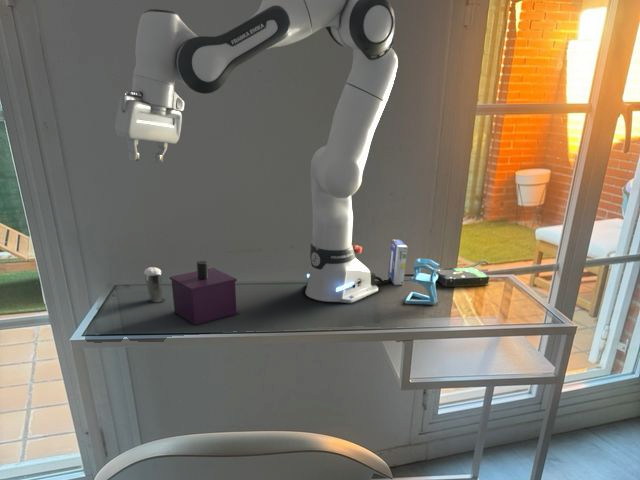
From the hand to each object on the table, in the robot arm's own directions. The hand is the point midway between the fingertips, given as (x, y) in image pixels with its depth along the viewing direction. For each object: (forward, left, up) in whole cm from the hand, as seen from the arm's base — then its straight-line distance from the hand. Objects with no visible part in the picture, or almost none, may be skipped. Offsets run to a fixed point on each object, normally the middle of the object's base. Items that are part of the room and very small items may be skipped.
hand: (145, 161), depth 136 cm
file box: (-9, +7, -37) cm, 39 cm away
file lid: (-9, +7, -28) cm, 30 cm away
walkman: (-71, +18, -37) cm, 82 cm away
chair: (-64, +35, -37) cm, 82 cm away
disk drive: (-88, +30, -37) cm, 100 cm away
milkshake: (-3, -8, -37) cm, 38 cm away
